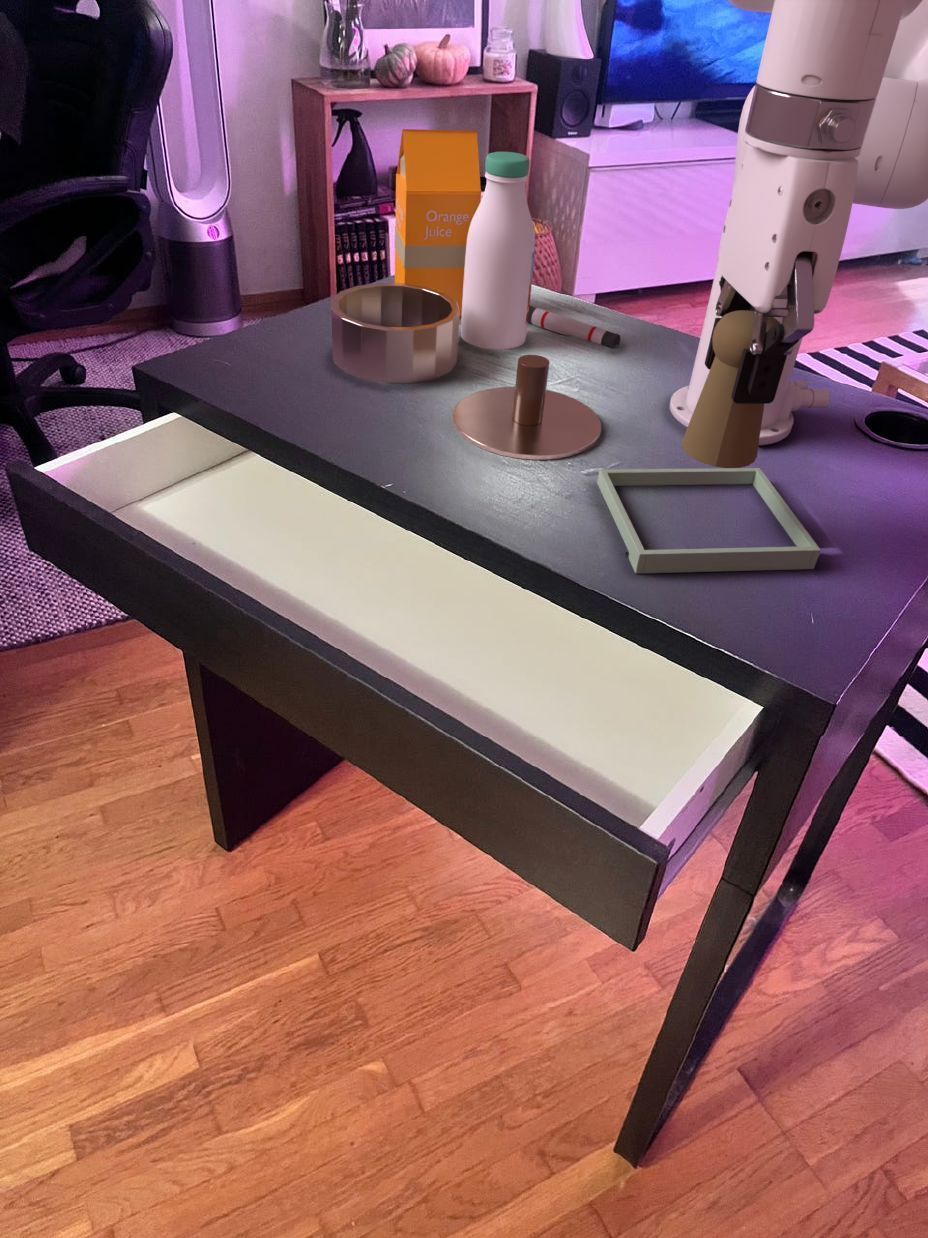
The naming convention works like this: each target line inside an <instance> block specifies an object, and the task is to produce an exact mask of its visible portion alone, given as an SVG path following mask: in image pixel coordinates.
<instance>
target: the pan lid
mask: <svg viewBox="0 0 928 1238" xmlns="http://www.w3.org/2000/svg"><path fill="white" fill-rule="evenodd" d="M550 363H551V362H550V360H549V359H548V358H547V357H545V356H543V355H538V354H524V355H521V356H519V357H518V359H517V365H516V366H517V367H516V377H515V386H500V387H499V386H498V387H492V388H485V389H482V390H479V391H476V392H473V393H471V394H468V395H467V396H465V397H463V398H462V399H461V400H459V402H457V404H456V405H455V407H454V409H453V412H452V424H453V425H454V428H455V430H456V432H457V433H458V434H459V435H460V436H461V437H462V438H463V439H465V440H466V441H467V442H468V443H470V444H472V445H474V446H475V447H477V448H480V449H482V450H484V451H487V452H490V453H493V454H496V455H500V456H504V457H507V458H512V459H513V458H514V459H520V460H521V459H522V460H529V461H530V460H531V461H532V460H533V461H535V460H537V461H543V460H544V461H546V460H557V459H564V458H570V457H573V456H575V455H576V456H577V455H579V454H582V453H584V452H585V451H588V450H589V449H591V448H592V447H593V446H595V444H596V443H597V442H598V441H599V440H600V437H601V433H602V422H601V420H600V418H599V416H598V414H597V413H596V412H595V411H594V410H593V409H592V408H591V407H589V406H588V405H587V404H585V403H584V402H581V401H580V400H578V399H577V398H575V397H571V396H569V395H566V394H563V393H561V392H557V391H553V390H550V389H547V386H548V378H549V373H550V372H549V371H550Z"/></svg>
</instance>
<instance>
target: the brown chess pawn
mask: <svg viewBox="0 0 928 1238" xmlns="http://www.w3.org/2000/svg"><path fill="white" fill-rule="evenodd" d="M753 319H754V311H748V310H739V311H733V312H730V313H728V314H725V315H724V316H723V317H722V318H721V319H720V321H719V322H718V323H717V325H716V327H715V329H714V332H713V337H712V342H713V350H714V352H715V355H716V356H715V358H714V361H713V363H712V366H711V369H710V371H709V374H708V376H707V379H706V381H705V384H704V387H703V389H702V392H701V394H700V397H699V399H698V402H697V405H696V407H695V410H694V412H693V415H692V417H691V420H690V422H689V425H688V427H686V430H685V433H684V435H683V437H682V441H681V448H682V449H683V451H684V452H685V454H686V455H688V456H689V457H690V458H692V459H693V460H695V461H697V462H700V463H702V464H703V465H708V466H711V467H714V468H746V467H749V466H750V465H751V464H752V465H753V463H755V462H756V459H757V457H758V451H759V446H758V445H759V438H760V431H761V424H762V417H763V410H764V404H737V403H735V402H734V401H733V400H732V398H731V395H732V391H733V387H734V384H735V380H736V376H737V372H738V368H739V365H740V361H741V357H742V353H743V349H750V342H751V334H752V326H753ZM780 324H781V323H780V322H779V321H778V320H777V319H775V318H774V317H768V321H767V329H766V332H767V331H769V330H770V329H771V328H772V327H773V326H774V325H780Z"/></svg>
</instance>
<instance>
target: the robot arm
mask: <svg viewBox="0 0 928 1238" xmlns="http://www.w3.org/2000/svg"><path fill="white" fill-rule="evenodd" d="M727 2H729V4H731V5H732V6H734V7H736V8H738V9H740V10H745V11H749V12H757V13H769V14H771V16H770V18H769V19H770V20H769V25H768V28H767V33H766V37H765V41H764V45H763V49H762V54H761V59H760V63H759V68H758V71H757V76H756V81H755V85H754V86H753V87H752V88H751V90H750V92H749V93H748V94H747V97H746V99H745V101H744V104H743V106H742V110H741V114H740V117H739V123H738V131H737V139H736V147H735V149H736V151H735V159H734V160H735V161H734V171H733V182H732V189H731V197H730V200H729V204H728V209H727V212H726V216H725V220H724V224H723V229H722V233H721V237H720V242H719V247H718V252H717V253H718V254H717V265H716V269H715V272H714V277H713V280H712V284H711V289H710V295H709V299H708V303H707V307H706V312H705V315H704V320H703V324H702V329H701V334H700V337H699V342H698V345H697V351H696V355H695V359H694V363H693V369H692V373H691V377H690V380H689V384H688V385H685V386H682V387H681V388H679V389H677V390H676V391H675V392H674V393H673V394H672V395H671V397H670V401H669V411H670V413H671V414H672V416H673V417H674V418H675V419H676V420H677V421H678V422H679V423H680V424H681V425H683V426H685V427H686V428H688V425H689V422H690V420H691V417H692V415H693V412H694V410H695V407H696V405H697V402H698V399H699V397H700V394H701V392H702V389H703V387H704V384H705V381H706V379H707V376H708V374H709V371H710V369H711V366H712V363H713V361H714V358H715V356H716V355H715V352H714V350H713V342H712V337H713V332H714V329H715V327H716V325H717V323H718V322H719V321H720V319H721V318H722V317H723V316H724V315H725V314H728V313H730V312H733V311H739V310H748V311H754V319H753V326H752V334H751V342H750V349H743V353H742V357H741V361H740V365H739V368H738V372H737V376H736V380H735V384H734V387H733V391H732V395H731V398H732V400H733V401H734V402H735V403H737V404H764V410H763V417H762V424H761V431H760V438H759V445H758V447H759V446H766V445H773V444H775V443H778V442H780V441H782V440H784V439H786V438H787V437H788V436H789V434H790V433H791V431H792V428H793V425H794V416H793V414H792V412H796V411H799V409H800V408H807V409H826V408H827V407H828V406H829V405H830V402H831V393H830V390H829V389H827V388H810V389H809V386H808V382H807V381H805V380H803V381H802V380H799V381H798V380H794V381H791V378H792V374H793V371H794V367H795V364H796V361H797V357H798V355H799V351H800V348H801V345H802V341H803V338H804V337H806V336H807V335H809V334H810V333H811V332H812V331H813V330H814V327H815V315H818V314H821V313H822V312H823V311H824V310H825V308H826V307H827V304H828V301H829V298H830V295H831V292H832V289H833V284H834V281H835V278H836V274H837V271H838V267H839V264H840V259H841V256H842V251H843V247H844V244H845V240H846V236H847V235H846V234H847V231H848V227H849V223H850V218H851V213H852V207H853V205H854V204H855V205H862V206H867V207H875V208H883V209H893V210H905V209H912V208H915V207H918V206H920V205H921V204H923V203H925V202H926V201H928V0H727ZM768 317H774V318H775V319H777V320H778V321H779V322H780V323H781V324H780V325H774V326H773V327H772V328H771V329H770V330H769V331H767V332H766V329H767V321H768Z"/></svg>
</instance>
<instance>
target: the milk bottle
mask: <svg viewBox="0 0 928 1238" xmlns="http://www.w3.org/2000/svg"><path fill="white" fill-rule="evenodd" d="M530 163H531V162H530V158H529V156H528V155H525V154H522V153H520V152H519V153H518V152H513V151H494V152H489V153H488V154H487V155H486V157H485V165H484V169H485V174H484V177H485V179H486V182H485V183H486V184H485V189H484V192H483V194H482V196H481V202H480V204H479V207H478V209H477V210H476V212H475V214H474V217H473V219H472V221H471V224H470V227H469V231H468V237H467V245H466V255H465V269H464V284H463V301H462V317H460V318H461V321H460V337H461V338H462V340H463V341H464V342H466V343H467V344H469V345H471V346H474V347H477V348H481V349H487V350H496V351H497V350H498V351H500V350H511V349H514V348H518V347H521V346H522V345H523V344H525V342H526V340H527V332H528V324H529V323H528V315H529V306H531V305H530V303H531V297H532V296H531V295H532V287H533V285H532V284H533V274H534V264H535V251H536V231H535V227H534V222H533V218H532V215H531V212H530V208H529V205H528V201H527V200H528V199H527V194H526V182H527V181H528V180H529V177H528V176H529V175H528V174H529V173H530V172H529V171H530Z"/></svg>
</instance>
